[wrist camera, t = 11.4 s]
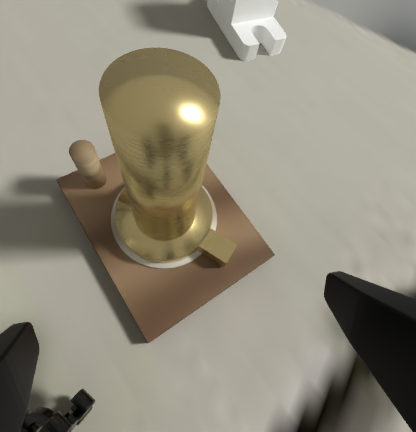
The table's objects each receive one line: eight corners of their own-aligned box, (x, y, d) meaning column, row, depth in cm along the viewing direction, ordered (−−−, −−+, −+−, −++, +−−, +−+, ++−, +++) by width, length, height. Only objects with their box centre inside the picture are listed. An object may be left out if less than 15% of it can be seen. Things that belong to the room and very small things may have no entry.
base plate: (270, 257, 23) (295, 238, 19) (149, 342, 20) (143, 344, 15) (177, 132, 27) (179, 90, 22) (60, 185, 23) (34, 148, 19)
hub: (97, 229, 21) (13, 102, 10) (154, 162, 24) (141, 2, 12) (204, 299, 20) (250, 249, 9) (250, 222, 23) (332, 106, 11)
